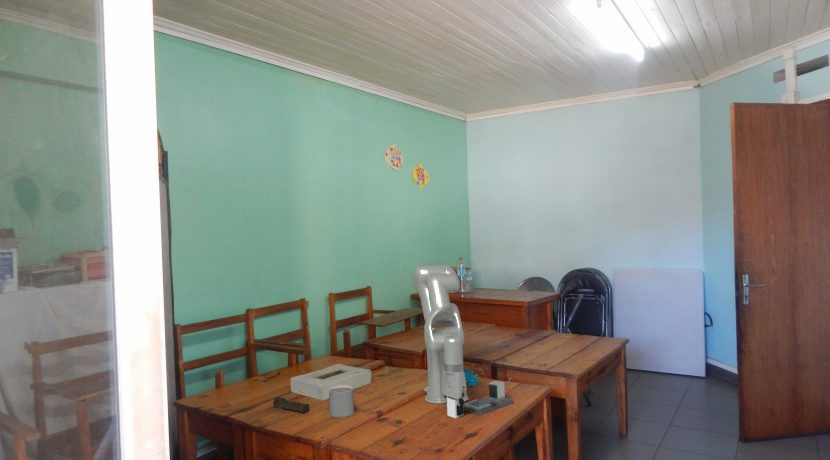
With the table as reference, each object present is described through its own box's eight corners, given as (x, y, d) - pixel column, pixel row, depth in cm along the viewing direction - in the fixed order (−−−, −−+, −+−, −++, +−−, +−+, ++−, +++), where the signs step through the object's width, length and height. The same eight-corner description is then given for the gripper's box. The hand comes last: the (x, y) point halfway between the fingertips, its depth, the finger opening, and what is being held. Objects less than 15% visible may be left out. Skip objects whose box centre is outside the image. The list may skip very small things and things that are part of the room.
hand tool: (310, 412, 217) (309, 401, 217) (303, 415, 214) (303, 403, 214) (278, 405, 227) (278, 394, 227) (271, 408, 224) (271, 397, 224)
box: (323, 402, 231) (372, 383, 256) (322, 384, 231) (371, 367, 256) (289, 394, 245) (339, 377, 270) (289, 377, 245) (338, 362, 270)
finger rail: (461, 409, 213) (460, 388, 213) (495, 397, 227) (494, 378, 227) (479, 415, 206) (478, 394, 206) (513, 402, 219) (512, 382, 219)
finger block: (447, 415, 207) (446, 397, 207) (456, 412, 211) (456, 394, 211) (455, 418, 204) (454, 400, 204) (464, 414, 207) (464, 397, 207)
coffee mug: (343, 418, 207) (342, 393, 207) (324, 414, 213) (323, 390, 213) (364, 408, 218) (363, 384, 219) (345, 405, 224) (345, 381, 224)
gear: (468, 385, 240) (458, 367, 246) (461, 393, 243) (451, 374, 249) (484, 383, 248) (473, 366, 254) (477, 391, 250) (467, 373, 256)
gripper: (432, 365, 211) (434, 410, 211) (462, 373, 198) (464, 421, 198) (446, 362, 216) (447, 406, 216) (475, 369, 203) (477, 416, 203)
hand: (455, 412), depth 207 cm, fingers closed on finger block, 4 cm apart
